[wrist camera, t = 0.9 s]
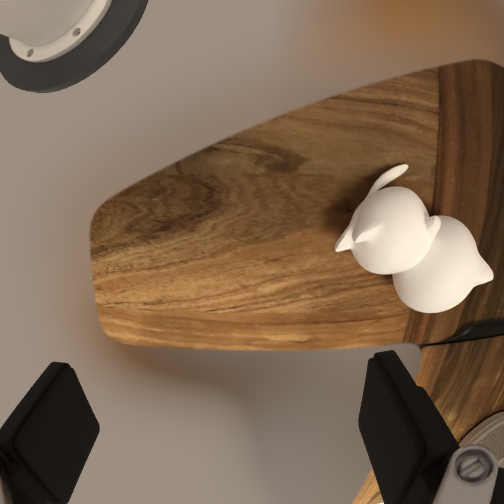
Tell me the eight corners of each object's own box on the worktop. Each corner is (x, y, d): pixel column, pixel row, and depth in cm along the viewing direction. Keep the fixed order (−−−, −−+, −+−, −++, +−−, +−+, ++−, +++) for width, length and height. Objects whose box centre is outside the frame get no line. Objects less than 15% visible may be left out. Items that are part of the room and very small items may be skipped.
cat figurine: (376, 241, 16) (493, 324, 18) (408, 117, 20) (505, 206, 21) (311, 270, 25) (417, 330, 26) (351, 167, 28) (442, 233, 29)
